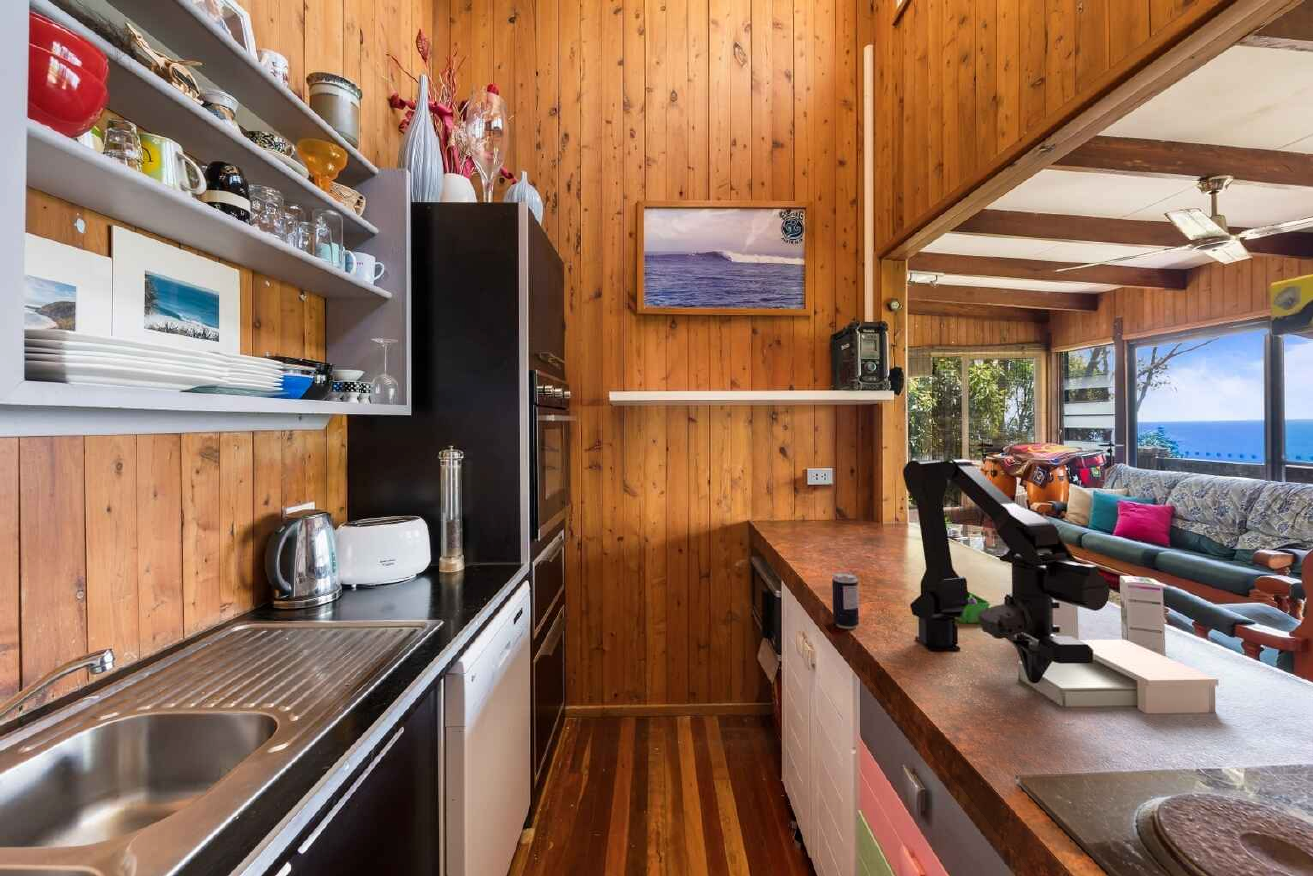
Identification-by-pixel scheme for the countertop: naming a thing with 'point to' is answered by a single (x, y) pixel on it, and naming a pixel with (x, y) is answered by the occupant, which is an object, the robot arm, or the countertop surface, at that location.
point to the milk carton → (1066, 619)
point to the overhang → (1158, 678)
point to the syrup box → (1142, 612)
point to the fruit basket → (973, 609)
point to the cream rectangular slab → (1085, 685)
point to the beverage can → (845, 600)
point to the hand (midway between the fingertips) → (1033, 682)
